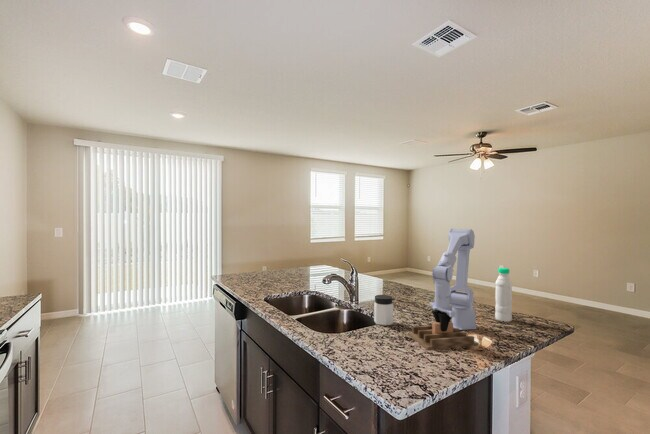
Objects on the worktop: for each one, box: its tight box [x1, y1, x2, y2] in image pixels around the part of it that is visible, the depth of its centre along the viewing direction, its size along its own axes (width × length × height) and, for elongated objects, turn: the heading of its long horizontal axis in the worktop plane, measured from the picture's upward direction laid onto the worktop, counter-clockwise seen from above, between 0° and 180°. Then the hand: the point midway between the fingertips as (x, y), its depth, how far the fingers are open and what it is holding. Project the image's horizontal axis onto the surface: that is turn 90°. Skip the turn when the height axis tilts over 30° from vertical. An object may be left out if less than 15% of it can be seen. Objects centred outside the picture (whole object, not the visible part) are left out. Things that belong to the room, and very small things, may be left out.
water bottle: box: [494, 267, 513, 323], centre depth 152 cm, size 7×7×25 cm
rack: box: [407, 324, 480, 350], centre depth 126 cm, size 22×15×3 cm
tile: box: [431, 321, 453, 334], centre depth 126 cm, size 8×2×6 cm, turn 102°
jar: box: [373, 294, 394, 326], centre depth 146 cm, size 9×8×12 cm
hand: (441, 329), depth 126 cm, fingers closed on tile, 2 cm apart
